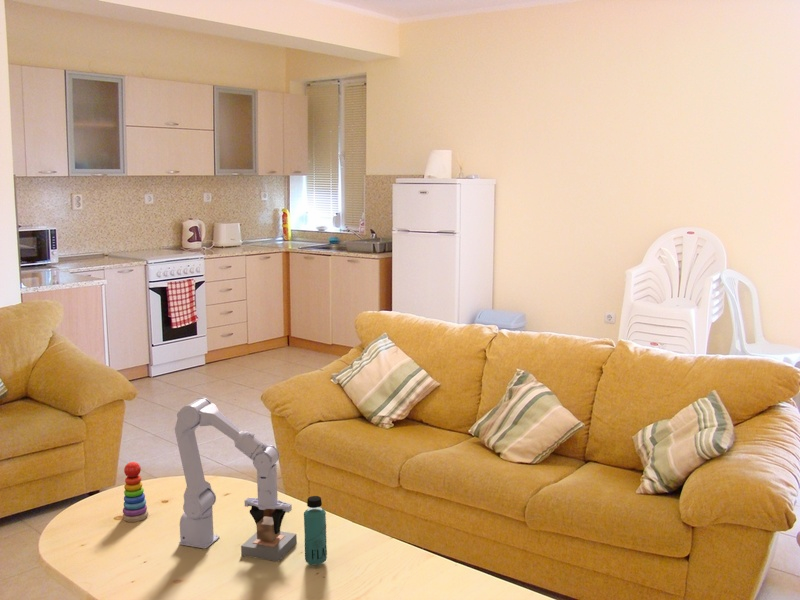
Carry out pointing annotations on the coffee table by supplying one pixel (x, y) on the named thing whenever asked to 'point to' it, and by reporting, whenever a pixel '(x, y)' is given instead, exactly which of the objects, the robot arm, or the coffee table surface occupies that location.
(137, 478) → the stacking toy
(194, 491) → the robot arm
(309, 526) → the beverage bottle
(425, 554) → the coffee table surface
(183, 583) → the coffee table surface
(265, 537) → the walnut cube
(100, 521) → the coffee table surface
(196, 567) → the coffee table surface
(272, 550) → the slate plinth
